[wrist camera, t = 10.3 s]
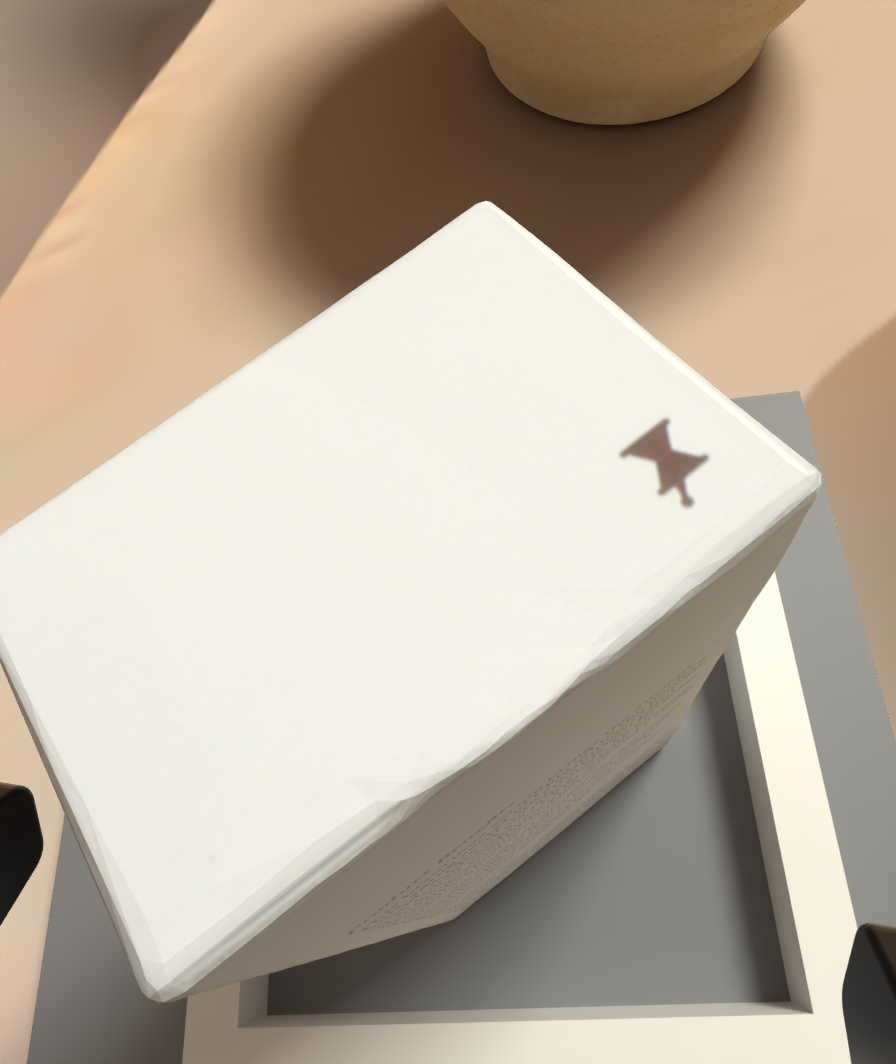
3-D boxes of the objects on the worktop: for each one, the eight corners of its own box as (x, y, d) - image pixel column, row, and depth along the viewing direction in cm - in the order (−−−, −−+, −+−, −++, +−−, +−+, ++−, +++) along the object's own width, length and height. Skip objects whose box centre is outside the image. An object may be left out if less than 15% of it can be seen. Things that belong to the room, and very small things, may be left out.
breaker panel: (1183, 1931, 10) (1378, 2266, 8) (-43, 1808, 13) (-198, 2042, 10) (787, 417, 20) (817, 351, 18) (139, 488, 22) (85, 438, 20)
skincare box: (543, 594, 18) (500, 172, 7) (672, 743, 16) (865, 474, 6) (331, 758, 17) (-73, 554, 7) (443, 932, 16) (147, 1050, 5)
